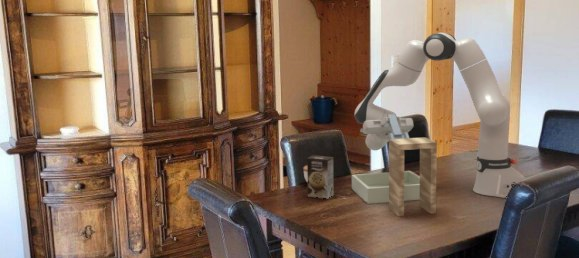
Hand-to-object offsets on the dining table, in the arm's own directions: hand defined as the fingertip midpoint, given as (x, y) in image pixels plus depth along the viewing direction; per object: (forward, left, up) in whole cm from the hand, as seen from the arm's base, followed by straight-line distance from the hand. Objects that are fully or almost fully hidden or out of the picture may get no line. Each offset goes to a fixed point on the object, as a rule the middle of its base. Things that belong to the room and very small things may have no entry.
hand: (393, 118), depth 214 cm
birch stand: (0, +19, -31) cm, 37 cm away
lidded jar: (+26, -26, -32) cm, 48 cm away
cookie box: (+28, -8, -32) cm, 43 cm away
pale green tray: (0, -4, -31) cm, 32 cm away
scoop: (0, +2, -6) cm, 6 cm away
